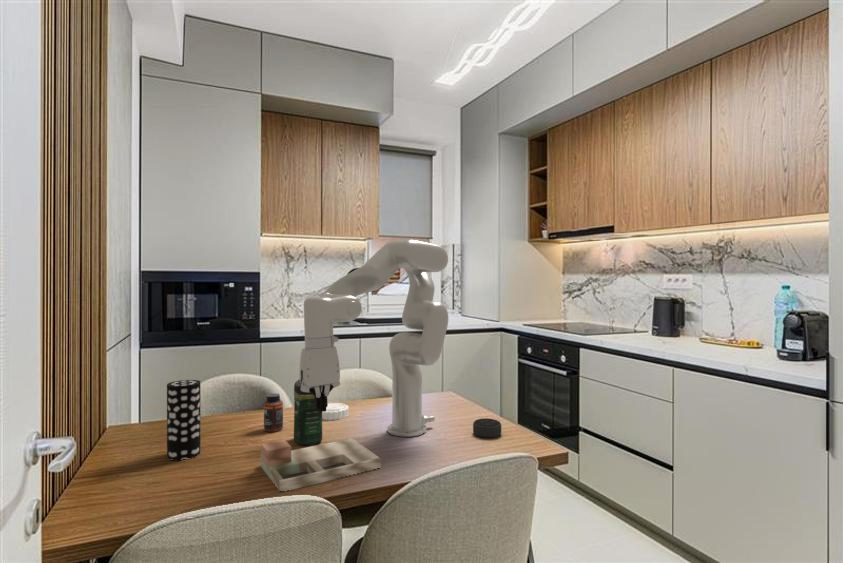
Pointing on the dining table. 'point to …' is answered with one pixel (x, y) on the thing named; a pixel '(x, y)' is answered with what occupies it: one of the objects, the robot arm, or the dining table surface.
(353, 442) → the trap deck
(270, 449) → the block
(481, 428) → the smart speaker
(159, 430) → the dining table surface
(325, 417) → the mooncake
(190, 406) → the white-spotted black cylinder
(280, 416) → the supplement bottle
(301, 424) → the coffee jar
